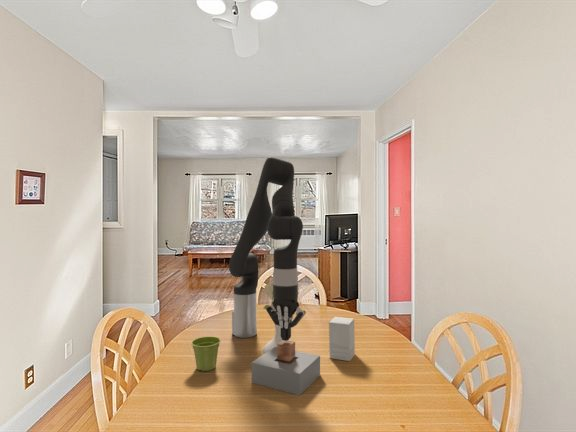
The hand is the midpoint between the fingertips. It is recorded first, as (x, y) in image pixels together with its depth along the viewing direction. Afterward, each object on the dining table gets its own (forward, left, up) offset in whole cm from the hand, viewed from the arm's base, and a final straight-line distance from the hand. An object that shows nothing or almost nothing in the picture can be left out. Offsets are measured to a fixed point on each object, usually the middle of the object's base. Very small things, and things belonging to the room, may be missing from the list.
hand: (285, 339), depth 110 cm
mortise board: (0, 0, -12) cm, 12 cm away
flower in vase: (-12, +15, -12) cm, 23 cm away
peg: (0, 0, -11) cm, 11 cm away
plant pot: (-27, -5, -12) cm, 30 cm away
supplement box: (+9, +24, -12) cm, 28 cm away
